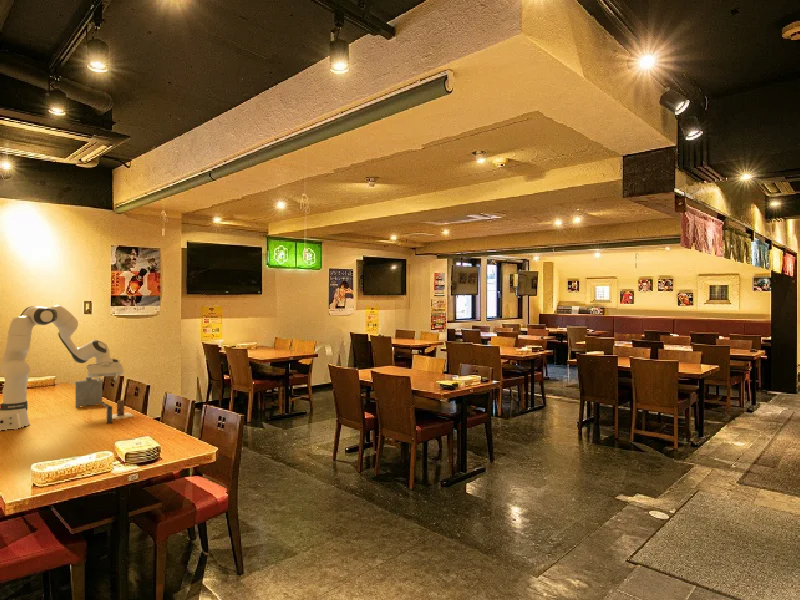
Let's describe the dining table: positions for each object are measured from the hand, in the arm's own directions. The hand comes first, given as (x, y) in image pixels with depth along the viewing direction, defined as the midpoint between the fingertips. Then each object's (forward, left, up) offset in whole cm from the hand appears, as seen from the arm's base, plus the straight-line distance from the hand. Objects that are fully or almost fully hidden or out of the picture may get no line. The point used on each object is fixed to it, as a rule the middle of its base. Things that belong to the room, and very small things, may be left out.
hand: (107, 380), depth 329 cm
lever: (-5, -21, -22) cm, 31 cm away
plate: (+4, -15, -22) cm, 27 cm away
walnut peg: (+4, -15, -21) cm, 26 cm away
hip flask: (-3, +39, -22) cm, 44 cm away
